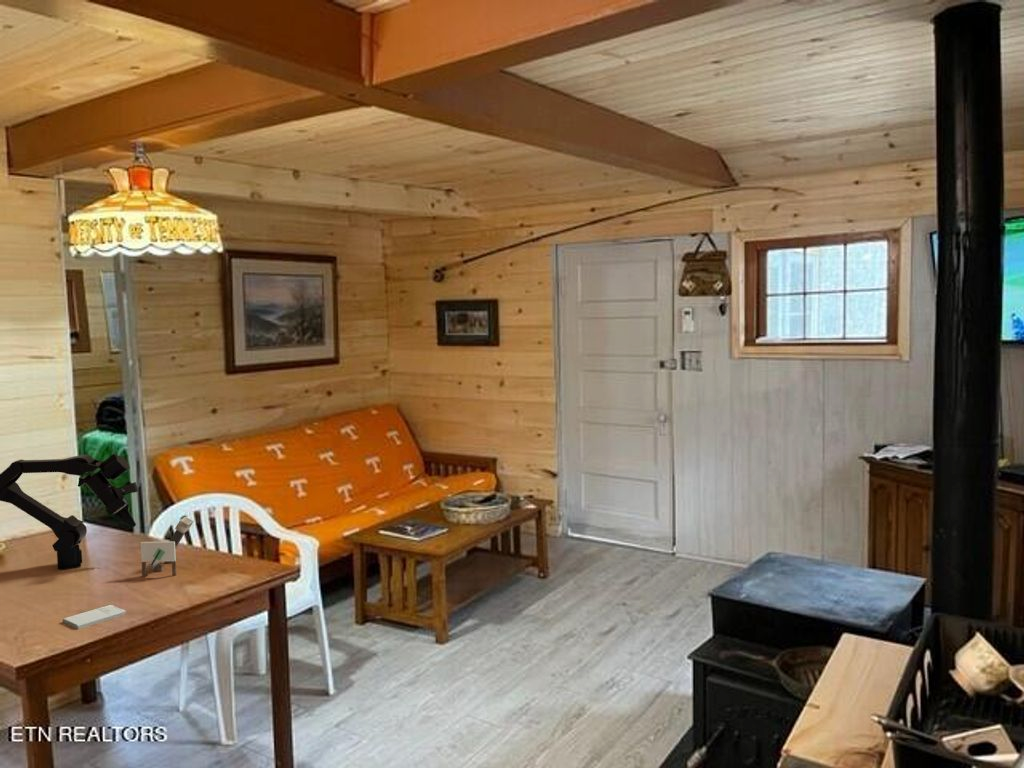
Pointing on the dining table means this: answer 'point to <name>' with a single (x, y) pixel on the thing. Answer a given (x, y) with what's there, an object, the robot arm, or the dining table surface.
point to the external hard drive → (94, 616)
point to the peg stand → (160, 567)
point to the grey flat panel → (152, 548)
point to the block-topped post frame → (175, 537)
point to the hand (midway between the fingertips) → (135, 526)
